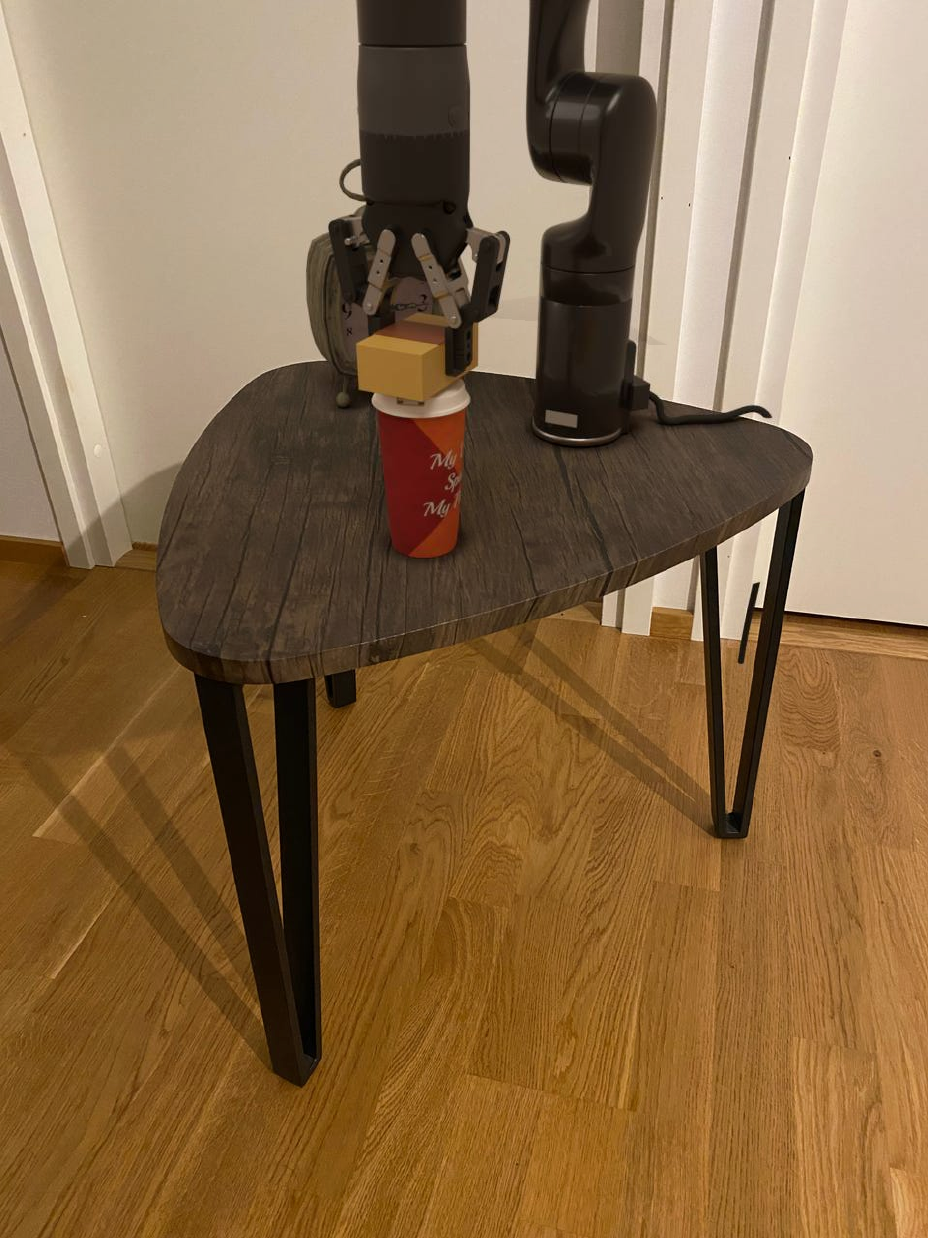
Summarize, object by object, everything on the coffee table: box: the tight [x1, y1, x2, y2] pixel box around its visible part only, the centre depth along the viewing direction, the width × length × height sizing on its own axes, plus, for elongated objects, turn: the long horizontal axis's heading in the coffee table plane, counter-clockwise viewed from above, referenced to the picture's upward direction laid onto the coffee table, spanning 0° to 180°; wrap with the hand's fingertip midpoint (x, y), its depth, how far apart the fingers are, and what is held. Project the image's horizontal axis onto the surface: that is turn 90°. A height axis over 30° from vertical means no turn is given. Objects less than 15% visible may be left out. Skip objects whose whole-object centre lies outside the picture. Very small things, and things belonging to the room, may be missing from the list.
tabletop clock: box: [305, 158, 448, 408], centre depth 106 cm, size 14×9×25 cm, turn 111°
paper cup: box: [371, 377, 471, 559], centre depth 80 cm, size 8×8×14 cm
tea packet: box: [356, 313, 479, 402], centre depth 75 cm, size 9×6×4 cm, turn 153°
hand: (420, 366), depth 75 cm, fingers closed on tea packet, 5 cm apart
